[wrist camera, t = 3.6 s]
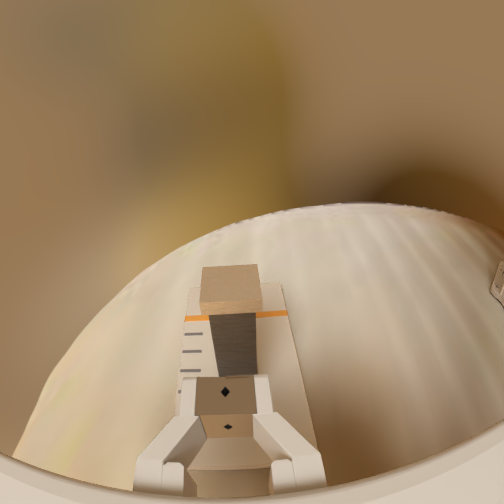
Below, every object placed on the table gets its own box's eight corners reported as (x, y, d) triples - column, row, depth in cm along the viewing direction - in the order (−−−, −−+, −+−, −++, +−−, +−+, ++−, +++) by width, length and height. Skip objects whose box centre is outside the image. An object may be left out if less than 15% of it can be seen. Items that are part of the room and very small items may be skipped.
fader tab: (262, 411, 29) (262, 299, 21) (221, 413, 29) (199, 302, 21) (258, 379, 33) (257, 264, 25) (220, 381, 33) (202, 267, 24)
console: (316, 461, 24) (319, 455, 23) (175, 469, 23) (170, 464, 22) (279, 290, 48) (279, 281, 47) (190, 295, 47) (189, 287, 46)
